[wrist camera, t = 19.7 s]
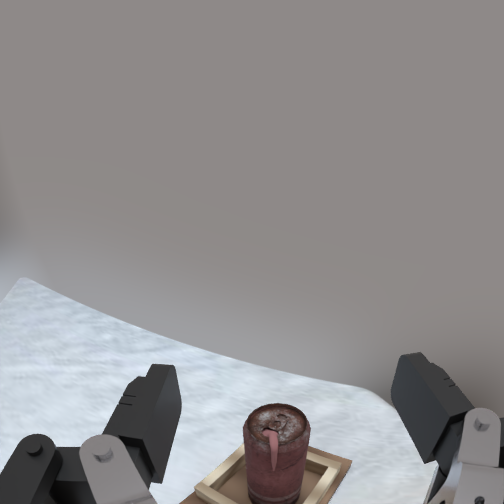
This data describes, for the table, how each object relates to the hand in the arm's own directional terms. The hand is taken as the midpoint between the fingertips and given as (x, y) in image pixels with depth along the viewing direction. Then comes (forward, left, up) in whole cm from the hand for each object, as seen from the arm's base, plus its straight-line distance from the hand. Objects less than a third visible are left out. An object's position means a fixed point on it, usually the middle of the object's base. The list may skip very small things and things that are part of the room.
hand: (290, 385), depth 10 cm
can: (+9, +6, -28) cm, 30 cm away
